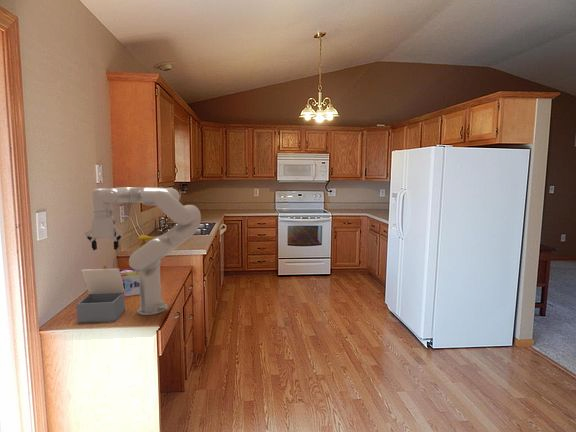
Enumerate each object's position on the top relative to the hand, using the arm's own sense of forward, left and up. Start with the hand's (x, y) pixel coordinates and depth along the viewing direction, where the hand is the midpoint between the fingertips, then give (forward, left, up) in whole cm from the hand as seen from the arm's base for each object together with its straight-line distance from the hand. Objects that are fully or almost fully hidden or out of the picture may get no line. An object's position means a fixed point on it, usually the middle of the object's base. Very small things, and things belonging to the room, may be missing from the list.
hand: (105, 249), depth 179 cm
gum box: (+7, -21, -31) cm, 38 cm away
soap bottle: (+11, -46, -30) cm, 56 cm away
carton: (-3, +8, -30) cm, 31 cm away
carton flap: (-2, +4, -15) cm, 15 cm away
